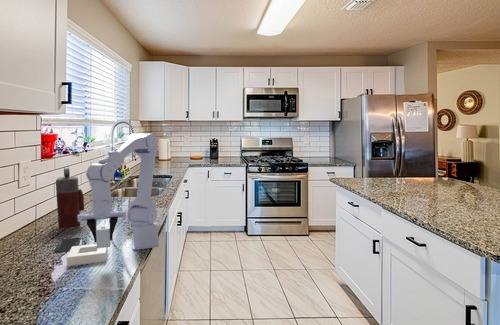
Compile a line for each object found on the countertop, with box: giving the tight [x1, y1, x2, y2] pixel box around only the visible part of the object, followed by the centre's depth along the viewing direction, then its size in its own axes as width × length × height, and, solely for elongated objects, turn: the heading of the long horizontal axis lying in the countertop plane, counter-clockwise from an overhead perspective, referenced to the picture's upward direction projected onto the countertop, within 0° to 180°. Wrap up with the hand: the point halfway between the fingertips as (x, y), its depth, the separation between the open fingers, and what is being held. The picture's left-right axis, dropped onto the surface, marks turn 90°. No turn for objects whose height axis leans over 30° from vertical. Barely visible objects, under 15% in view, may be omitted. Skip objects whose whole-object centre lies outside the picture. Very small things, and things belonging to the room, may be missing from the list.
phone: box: [54, 237, 82, 253], centre depth 136 cm, size 8×1×15 cm
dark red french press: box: [55, 167, 85, 230], centre depth 164 cm, size 9×11×28 cm
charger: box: [96, 225, 112, 248], centre depth 113 cm, size 4×4×6 cm
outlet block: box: [66, 243, 109, 267], centre depth 122 cm, size 12×12×3 cm
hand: (103, 240), depth 113 cm, fingers closed on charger, 4 cm apart
